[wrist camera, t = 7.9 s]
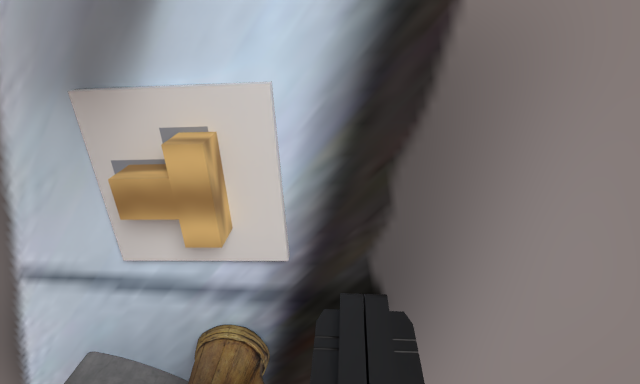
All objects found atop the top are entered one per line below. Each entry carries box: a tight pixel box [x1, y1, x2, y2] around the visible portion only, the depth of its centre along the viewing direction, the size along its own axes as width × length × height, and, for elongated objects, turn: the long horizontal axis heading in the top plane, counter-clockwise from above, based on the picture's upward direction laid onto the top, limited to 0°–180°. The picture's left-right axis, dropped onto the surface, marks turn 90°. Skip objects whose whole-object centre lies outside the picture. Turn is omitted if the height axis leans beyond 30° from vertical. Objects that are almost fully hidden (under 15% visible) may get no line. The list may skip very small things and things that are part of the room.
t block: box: [108, 132, 233, 248], centre depth 35 cm, size 10×9×4 cm
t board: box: [68, 81, 289, 261], centre depth 37 cm, size 18×18×1 cm
